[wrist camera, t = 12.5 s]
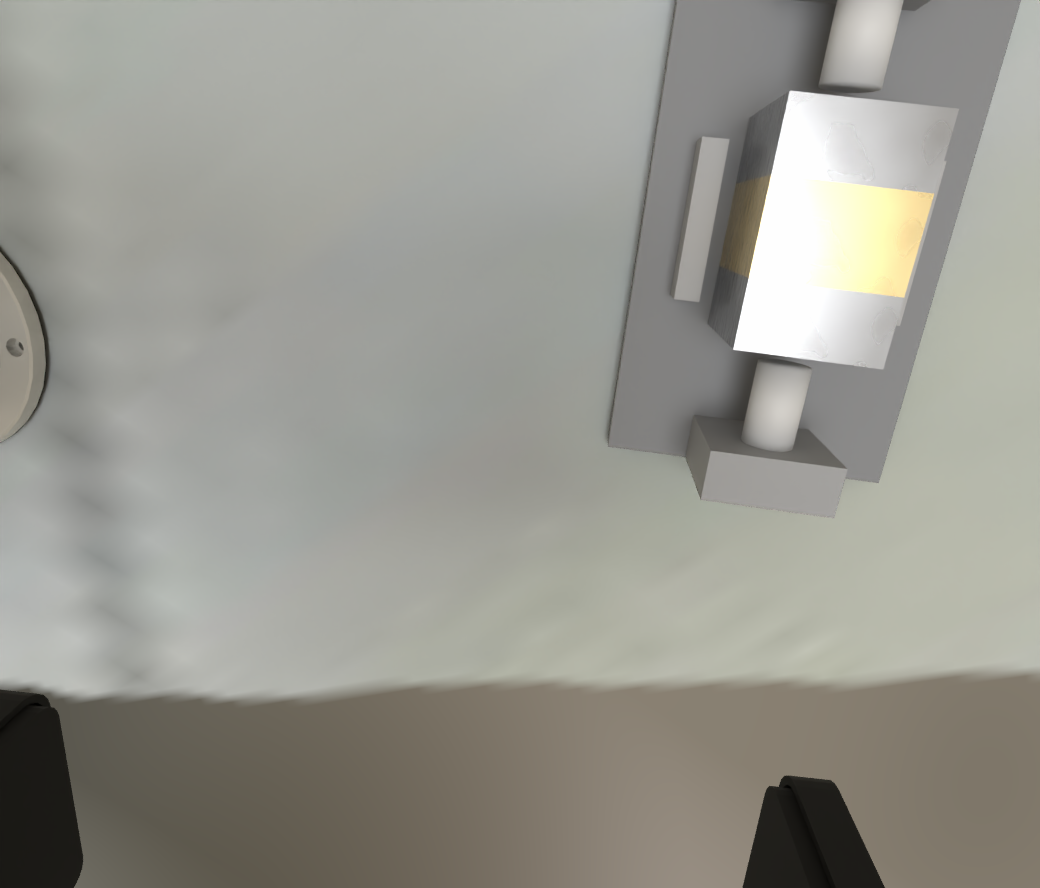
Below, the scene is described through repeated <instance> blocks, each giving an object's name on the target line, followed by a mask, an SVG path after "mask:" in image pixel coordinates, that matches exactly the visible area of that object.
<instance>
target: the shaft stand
mask: <svg viewBox="0 0 1040 888" xmlns="http://www.w3.org/2000/svg"><path fill="white" fill-rule="evenodd" d="M1020 2H1021V0H676V3H675V9H674V16H673V22H672V28H671V35H670V41H669V48H668V54H667V61H666V67H665V74H664V80H663V87H662V93H661V100H660V106H659V113H658V119H657V125H656V132H655V138H654V145H653V151H652V158H651V164H650V171H649V177H648V184H647V190H646V197H645V203H644V210H643V216H642V223H641V229H640V235H639V242H638V248H637V255H636V261H635V268H634V274H633V281H632V287H631V294H630V300H629V307H628V313H627V320H626V326H625V332H624V339H623V345H622V352H621V358H620V365H619V371H618V378H617V384H616V391H615V397H614V404H613V410H612V417H611V423H610V429H609V436H608V447H616V448H623V449H630V450H638V451H645V452H653V453H660V454H668V455H675V456H682V457H686V460H687V463H688V465H689V468H690V471H691V474H692V477H693V479H694V482H695V485H696V488H697V491H698V493H699V496H700V499H701V500H706V501H713V502H720V503H728V504H735V505H742V506H749V507H756V508H764V509H771V510H778V511H785V512H792V513H800V514H807V515H814V516H821V517H828V518H834V517H835V513H836V510H837V506H838V503H839V499H840V495H841V492H842V488H843V485H844V481H845V479H853V480H860V481H868V482H875V483H879V480H880V477H881V473H882V470H883V466H884V463H885V460H886V456H887V453H888V449H889V446H890V443H891V439H892V436H893V433H894V429H895V426H896V422H897V419H898V416H899V412H900V409H901V405H902V402H903V399H904V395H905V392H906V388H907V385H908V382H909V378H910V375H911V371H912V368H913V365H914V361H915V358H916V354H917V351H918V348H919V344H920V341H921V338H922V334H923V331H924V327H925V324H926V321H927V317H928V314H929V310H930V307H931V304H932V300H933V297H934V293H935V290H936V287H937V283H938V280H939V276H940V273H941V270H942V266H943V263H944V259H945V256H946V253H947V249H948V246H949V243H950V239H951V236H952V232H953V229H954V226H955V222H956V219H957V215H958V212H959V209H960V205H961V202H962V198H963V195H964V192H965V188H966V185H967V181H968V178H969V175H970V171H971V168H972V164H973V161H974V158H975V154H976V151H977V148H978V144H979V141H980V137H981V134H982V131H983V127H984V124H985V120H986V117H987V114H988V110H989V107H990V103H991V100H992V97H993V93H994V90H995V86H996V83H997V80H998V76H999V73H1000V69H1001V66H1002V63H1003V59H1004V56H1005V53H1006V49H1007V46H1008V42H1009V39H1010V36H1011V32H1012V29H1013V25H1014V22H1015V19H1016V15H1017V12H1018V8H1019V5H1020ZM788 91H799V92H808V93H817V94H826V95H836V96H845V97H854V98H864V99H873V100H882V101H892V102H901V103H910V104H920V105H929V106H938V107H948V108H957V109H959V111H958V115H957V118H956V122H955V125H954V128H953V132H952V135H951V139H950V142H949V146H948V149H947V152H946V156H945V159H944V163H943V166H942V170H941V173H940V176H939V180H938V183H937V187H936V190H935V194H934V197H933V200H932V204H931V207H930V211H929V214H928V218H927V221H926V224H925V228H924V231H923V235H922V238H921V242H920V245H919V248H918V252H917V255H916V259H915V262H914V266H913V269H912V272H911V276H910V279H909V283H908V286H907V290H906V293H905V296H904V300H903V303H902V307H901V310H900V314H899V317H898V320H897V324H896V327H895V331H894V334H893V338H892V341H891V344H890V348H889V351H888V355H887V358H886V362H885V365H884V368H883V369H875V368H868V367H860V366H853V365H845V364H838V363H830V362H823V361H815V360H808V359H800V358H793V357H785V356H778V355H770V354H763V353H755V352H748V351H740V350H733V349H732V348H731V347H730V346H729V345H728V344H727V343H726V342H725V341H724V340H723V339H722V338H721V337H720V336H719V335H718V334H717V333H716V332H715V331H714V330H713V329H712V328H711V327H710V326H709V325H708V319H709V314H710V309H711V304H712V299H713V294H714V289H715V284H716V279H717V274H718V269H719V264H720V260H721V255H722V250H723V245H724V240H725V235H726V230H727V225H728V220H729V215H730V210H731V205H732V200H733V196H734V191H735V186H736V181H737V176H738V171H739V166H740V161H741V156H742V151H743V146H744V141H745V136H746V131H747V127H748V122H749V117H751V116H752V115H754V114H755V113H757V112H758V111H760V110H761V109H763V108H764V107H766V106H767V105H769V104H770V103H772V102H773V101H775V100H776V99H778V98H779V97H781V96H782V95H784V94H785V93H787V92H788Z"/></svg>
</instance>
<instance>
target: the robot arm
mask: <svg viewBox="0 0 1040 888" xmlns="http://www.w3.org/2000/svg"><path fill="white" fill-rule="evenodd" d="M45 368H46V358H45V345H44V338H43V334H42V330H41V326H40V322H39V318H38V314H37V312H36V310H35V307H34V305H33V303H32V300H31V298H30V296H29V293H28V291H27V289H26V288H25V286H24V284H23V283H22V281H21V280H20V278H19V276H18V275H17V273H16V271H15V270H14V268H13V267H12V265H11V264H10V263H9V262H8V261H7V260H6V258H5V257H4V256H3V255H2V254H1V252H0V442H2V441H4V440H5V439H7V438H9V437H11V436H12V435H14V434H15V433H16V432H17V431H18V430H19V429H20V428H21V427H22V426H23V425H24V424H25V423H26V422H27V420H28V419H29V417H30V416H31V414H32V412H33V411H34V409H35V408H36V406H37V403H38V400H39V398H40V395H41V392H42V389H43V385H44V376H45ZM82 865H83V854H82V848H81V842H80V836H79V830H78V824H77V818H76V812H75V807H74V801H73V795H72V789H71V783H70V777H69V772H68V765H67V760H66V754H65V748H64V742H63V736H62V731H61V725H60V719H59V715H58V712H57V710H55V708H52V707H51V706H50V703H49V700H48V699H47V698H46V697H45V696H44V695H40V694H34V693H25V692H16V691H7V690H0V888H74V886H75V884H76V883H77V880H78V878H79V876H80V873H81V870H82ZM743 888H885V887H884V885H883V883H882V881H881V879H880V876H879V874H878V872H877V870H876V868H875V866H874V864H873V862H872V859H871V857H870V855H869V853H868V851H867V849H866V847H865V845H864V842H863V840H862V839H861V836H860V834H859V832H858V830H857V828H856V826H855V823H854V821H853V819H852V817H851V815H850V813H849V811H848V808H847V806H846V804H845V802H844V800H843V798H842V796H841V794H840V791H839V790H838V788H837V786H836V785H835V783H833V782H832V781H831V780H823V779H814V778H805V777H795V776H784V777H783V778H782V779H781V782H780V785H779V787H774V786H769V787H768V788H767V790H766V793H765V796H764V800H763V804H762V809H761V813H760V817H759V821H758V825H757V830H756V834H755V838H754V842H753V846H752V850H751V855H750V859H749V863H748V867H747V871H746V875H745V880H744V884H743Z"/></svg>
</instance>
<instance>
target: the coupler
mask: <svg viewBox="0 0 1040 888" xmlns="http://www.w3.org/2000/svg"><path fill="white" fill-rule="evenodd" d="M958 111H959V109H957V108H948V107H938V106H929V105H920V104H910V103H901V102H892V101H882V100H873V99H864V98H854V97H845V96H836V95H826V94H817V93H808V92H799V91H788V92H787V93H785V94H784V95H782V96H781V97H779V98H778V99H776V100H775V101H773V102H772V103H770V104H769V105H767V106H766V107H764V108H763V109H761V110H760V111H758V112H757V113H755V114H754V115H752V116H751V117H749V122H748V127H747V131H746V136H745V141H744V146H743V151H742V156H741V161H740V166H739V171H738V176H737V181H736V186H735V191H734V196H733V200H732V205H731V210H730V215H729V220H728V225H727V230H726V235H725V240H724V245H723V250H722V255H721V260H720V264H719V269H718V274H717V279H716V284H715V289H714V294H713V299H712V304H711V309H710V314H709V319H708V325H709V326H710V327H711V328H712V329H713V330H714V331H715V332H716V333H717V334H718V335H719V336H720V337H721V338H722V339H723V340H724V341H725V342H726V343H727V344H728V345H729V346H730V347H731V348H732V349H733V350H740V351H748V352H755V353H763V354H770V355H778V356H785V357H793V358H800V359H808V360H815V361H823V362H830V363H838V364H845V365H853V366H860V367H868V368H875V369H883V368H884V365H885V362H886V358H887V355H888V351H889V348H890V344H891V341H892V338H893V334H894V331H895V327H896V324H897V320H898V317H899V314H900V310H901V307H902V303H903V300H904V296H905V293H906V290H907V286H908V283H909V279H910V276H911V272H912V269H913V266H914V262H915V259H916V255H917V252H918V248H919V245H920V242H921V238H922V235H923V231H924V228H925V224H926V221H927V218H928V214H929V211H930V207H931V204H932V200H933V197H934V194H935V190H936V187H937V183H938V180H939V176H940V173H941V170H942V166H943V163H944V159H945V156H946V152H947V149H948V146H949V142H950V139H951V135H952V132H953V128H954V125H955V122H956V118H957V115H958Z"/></svg>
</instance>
